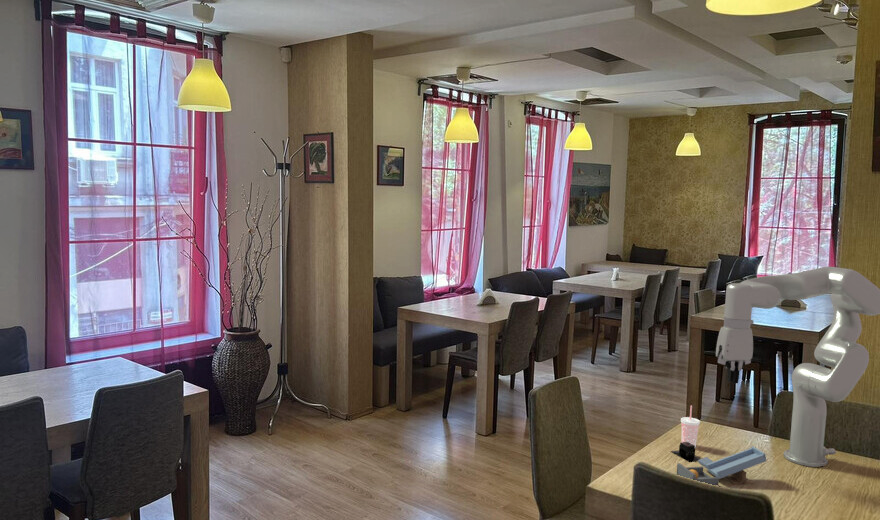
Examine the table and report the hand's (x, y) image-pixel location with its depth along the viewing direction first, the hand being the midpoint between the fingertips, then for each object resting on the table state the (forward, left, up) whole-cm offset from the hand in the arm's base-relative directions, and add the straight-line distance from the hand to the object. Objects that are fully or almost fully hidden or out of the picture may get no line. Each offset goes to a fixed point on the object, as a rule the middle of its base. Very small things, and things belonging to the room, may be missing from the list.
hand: (732, 382), depth 208 cm
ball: (+17, +9, -25) cm, 32 cm away
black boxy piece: (+8, -10, -28) cm, 31 cm away
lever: (+3, +6, -23) cm, 24 cm away
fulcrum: (+3, +9, -27) cm, 29 cm away
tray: (+16, +9, -27) cm, 33 cm away
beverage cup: (+2, -18, -27) cm, 33 cm away
